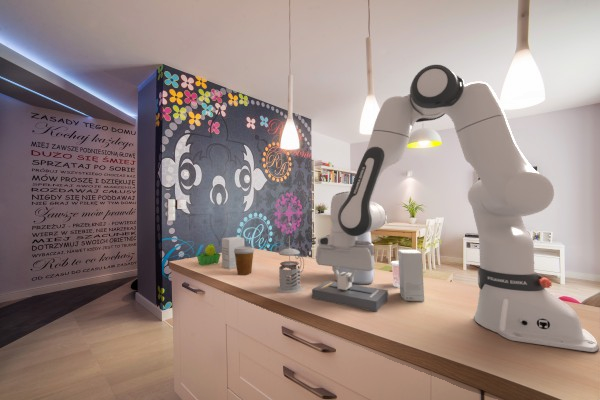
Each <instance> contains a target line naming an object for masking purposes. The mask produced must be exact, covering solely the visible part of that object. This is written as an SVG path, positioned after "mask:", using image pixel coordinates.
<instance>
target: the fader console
mask: <svg viewBox="0 0 600 400" xmlns="http://www.w3.org/2000/svg"><path fill="white" fill-rule="evenodd" d="M311 298H312V299H315V300H319V301H324V302H329V303H334V304H338V305H343V306H347V307H353V308H356V309H362V310H367V311H371V312H376V313H377V312H378V311H379V310H380V309H381V308H382V306H384V305H385V303H386V302H387V301H388V299H389V291H388V289H383V288H377V287H370V286H365V285H360V284H354V283H352V286H351V287H350V288H348V289H347V290H342V289H338V282H337V281H334V280H327V281H324V282H323V283H321V284H319V285H318V286H315V287H314V288H312V289H311Z"/></svg>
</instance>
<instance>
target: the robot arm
mask: <svg viewBox="0 0 600 400" xmlns="http://www.w3.org/2000/svg"><path fill="white" fill-rule="evenodd" d="M445 115H446V116H448V117H449V118H450V119H451V121H452V123H453V126H454V130H455V133H456V135H457V138H458V141H459V144H460V148H461V151H462V154H463V157H464V159H465V161H466V162H467V163H469V164H470V166H471V167H472V168H473V170H474V171H475V173H476V174H477V177H478V178H479V179H478V180H476V182H475V183H473V184H472V185H471V186H470V188H469V189H468V192H467V200H468V202H469V204H470V206H471V208H472V213H473V217H474V221H475V222H474V223H475V225H476V230H477V234H478V235H477V236H478V242H479V243H478V244H479V245H478V246H479V266H478V269H477V285H478V288H479V293H478V294H479V295H478V300H477V301H478V302H477V305H476V306H477V307H476V311H475V314H474V316H473V319H474V321H475V322H476V323H478V324H479V325H480V326H482V327H484V328H485V329H487V330H490V331H493V332H495V333H497V334H498V335H500V336H502V337H503V338H505V339H507V340H510V341H515V342H522V343H527V344H536V345H541V346H542V345H543V346H547V347H549V346H550V347H553V348H554V347H555V348H562V349H569V350H576V351H580V352H581V351H583V352H590V353H594V352H597V351H598V349H599V345H598V342H597V340H596V338H595V337H594V335H592V334H591V332H589V331H588V330H586V329H585V328H583V327H582V323H581V321H580V318H579V316H578V314H577V312H576V311H575V310H574V309H573V308H572V307H571V306H570V305H569V304H567V303H566V302H565V301H563V300H561V299H560V298H559V297H557V296H556V295H554V294H553V293H551V291H549V290H547V289H550V288H551V287H552V286H553V283H552V281H551V280H550V279H549V278H547V277H545V276H543V275H542V274H540V273H538V272H536V271H535V254H534V253H535V249H534V248H535V247H534V240H533V238H532V237H531V235H530V234H529V233H528V231H527V229H526V227H525V224H524V221H523V217H526V216H531V215H534V214H538V213H540V212H542V211H544V210H545V209H547V208H548V207H549V206H550V205H551V204H552V201H554V200H553V199H554V195H555V190H554V186H553V184H552V182H551V181H550V179H548V177H546V175H543V174H542V173H540V172H538V171H537V170H536V169H535V168H534V167H533V166H532V165H531V163H529V161H528V160H527V158H526V157H525V156H524V154H523V153H522V151H521V150H520V149H519V146H518V145H517V143H516V141H515V138H514V135H513V134H512V133H513V132H512V131H511V127H510V125H509V122H508V119H507V117H506V114H505V112H504V109H503V107H502V104H501V102H500V100H499V98H498V97H497V95H496V93H495V92H494V90H493V89H492V87H491V86H490V85H489V84H488V83H486V82H483V81H475V82H469V83H467V84H465V80H464V79H463V78H461V77H460V76H459V75H457V74H455V73H454V72H453V71H452V70H451V69H450V68H448V67H447V66H444V65H442V64H431V65H428V66H426V67H424V68H422V69H421V70H419V71H418V72H417V74H416V75H415V76H414V78H413V80H412V81H411V83H410V88H409V94H407V95H405V96H400V95H399V96H397V95H395V96H391V97H389V98H387V99H386V100H384V102H383V103H382V105H381V107H380V109H379V111H378V114H377V117H376V119H375V122H374V124H373V128H372V132H371V135H370V138H369V142H368V145H367V147H366V150H365V151H364V154H363V156H362V158H361V161H360V163H359V165H358V168H357V171H356V174H355V176H354V180H353V182H352V186H351V187H350V190H349V191H343V192H338V193H336V194H334V195H333V196H332V198H331V201H330V221H331V228H330V234H328V235H326V236H323V237H319V238H318V239H317V244H318V245H317V247H316V252H315V259H316V260H315V261H316V263H317V265H319V266H325V267H331V268H332V271H333V274H334V275H335V280H336V281H337V275H339V272H338V270H337V269H339V267H340V268H348V269H351V272H352V274H351V276H348V282H353V281H354V275H355V274H356V272H357V270H363V271H371V270H373V269H374V270H375V267H376V263H375V245H374V244H373V243H372V242H371V243H370V242H368V241H366V242H364V241H357V236H359V235H362V234H364V233H366V232H373V231H377V230H379V229H381V228H382V227H383V226H384V225H385V223H386V220H387V213H386V210H385V208H384V207H383V205H381V204H380V203H378V202H375V201H372V198H373V195H374V192H375V190H376V187H377V184H378V181H379V179H380V176H381V175H382V173H383V172H384V171H385V170H386V169H388V168H389V167H390V166H392V165H395V164H396V163H398V162H400V160H401V159H402V158H403V156H404V154H405V152H406V150H407V147H408V145H409V141H410V138H411V134H412V131H413V128H414V125H415V124H416V123H421V122H427V121H430V122H431V121H434V120H438V119H441V118H442V117H443V116H445ZM363 244H364V245H363ZM370 244H371V245H370Z"/></svg>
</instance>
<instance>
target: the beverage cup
mask: <svg viewBox="0 0 600 400" xmlns="http://www.w3.org/2000/svg"><path fill="white" fill-rule="evenodd" d="M398 250H401V249H399V248H398V249H397V251H398ZM390 265H391V268H392V270H391V271H392V283H393V286H394V287H395V288H398V289H400V280H399V260H392V261H391V262H390Z"/></svg>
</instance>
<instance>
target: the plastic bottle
mask: <svg viewBox="0 0 600 400" xmlns="http://www.w3.org/2000/svg"><path fill="white" fill-rule="evenodd" d="M371 232H372V231H371ZM371 232H366V233H364V234H362V235H359V236H357V241H364V242H366V241H368V242H370V243H372V234H371ZM363 245H364V244H363ZM370 245H371V244H370ZM337 270H338V272H339V274H340V273H342V272H348V273H352V272H351V269H348V268H340V267H339V269H337ZM374 279H375V268H374V269H373V270H371V271H363V270H357V272H356V274H355V275H354V281H353V282H352V284H353V285H369V284H372V283H373V282H374Z"/></svg>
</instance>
